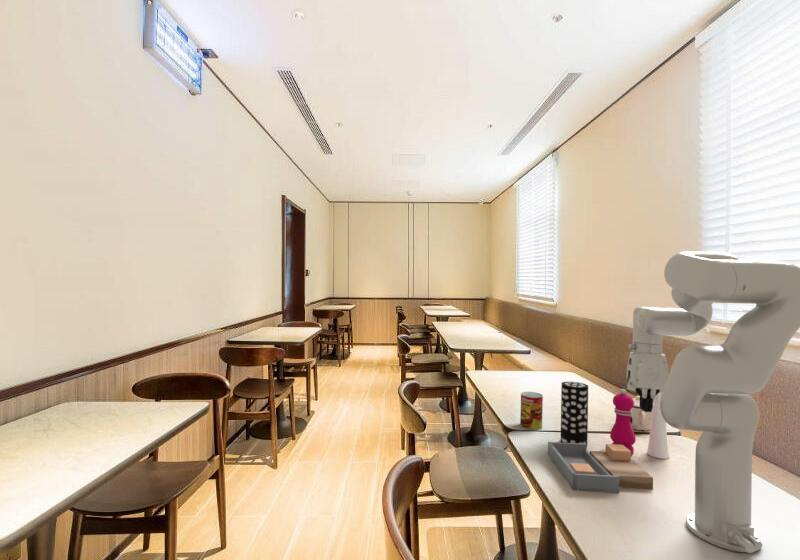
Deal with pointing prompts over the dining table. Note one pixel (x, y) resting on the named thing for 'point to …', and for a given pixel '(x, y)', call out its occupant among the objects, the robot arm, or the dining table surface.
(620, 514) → the dining table surface
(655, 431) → the cosmetic bottle
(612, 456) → the tile
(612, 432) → the pepper mill
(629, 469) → the board
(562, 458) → the box
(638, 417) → the teacup with lid
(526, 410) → the canned food
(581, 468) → the tile
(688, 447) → the dining table surface
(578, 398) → the spotted tube
